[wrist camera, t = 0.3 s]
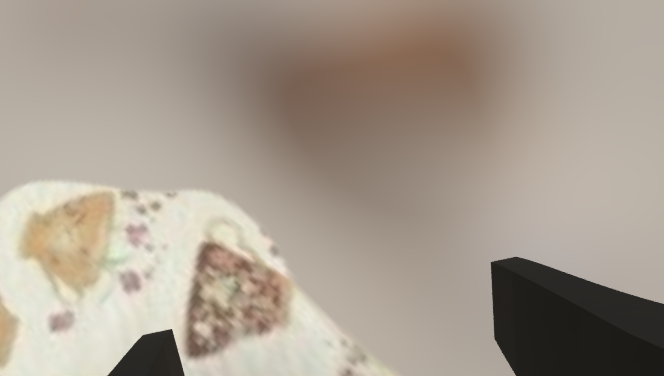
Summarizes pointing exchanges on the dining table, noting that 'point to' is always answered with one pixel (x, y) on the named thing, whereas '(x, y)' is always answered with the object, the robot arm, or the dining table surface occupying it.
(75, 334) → the dining table surface
